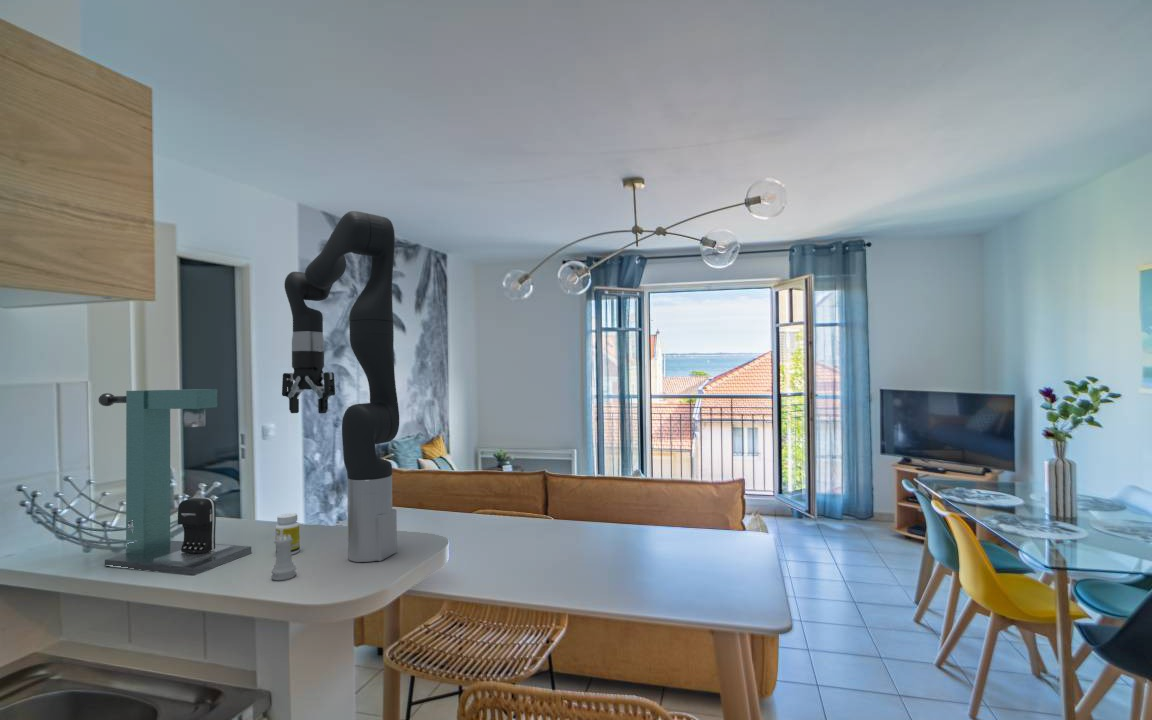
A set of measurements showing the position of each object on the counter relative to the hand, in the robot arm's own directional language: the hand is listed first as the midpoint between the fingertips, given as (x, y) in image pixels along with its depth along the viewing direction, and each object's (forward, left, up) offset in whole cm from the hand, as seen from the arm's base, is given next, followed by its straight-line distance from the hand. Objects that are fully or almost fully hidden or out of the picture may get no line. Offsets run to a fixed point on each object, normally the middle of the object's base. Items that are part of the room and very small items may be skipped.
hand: (308, 413), depth 143 cm
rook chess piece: (-19, +29, -30) cm, 46 cm away
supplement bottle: (-8, +16, -30) cm, 35 cm away
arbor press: (+17, +25, -30) cm, 43 cm away
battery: (+8, +25, -28) cm, 39 cm away
